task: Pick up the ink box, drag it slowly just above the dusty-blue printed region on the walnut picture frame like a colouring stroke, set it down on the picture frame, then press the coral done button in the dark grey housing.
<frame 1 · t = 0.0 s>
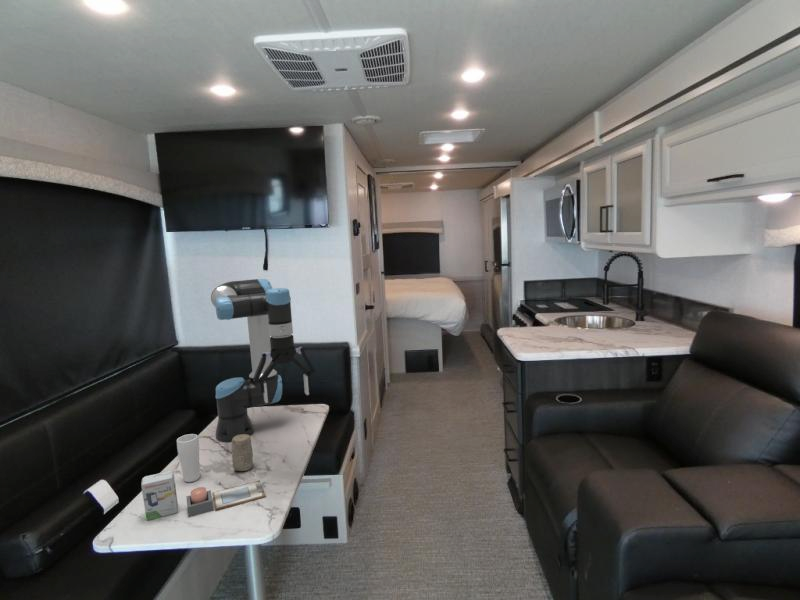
hand: (286, 397, 157), 28 cm above the table, fingers open, 13 cm apart
ink box: (162, 513, 142), on the table
carving: (243, 469, 168), on the table
picture frame: (238, 495, 150), on the table
done button: (199, 497, 144), point 3 cm above the table, slide at 0.0 cm
button housing: (200, 507, 144), on the table
drinking glass: (192, 479, 162), on the table
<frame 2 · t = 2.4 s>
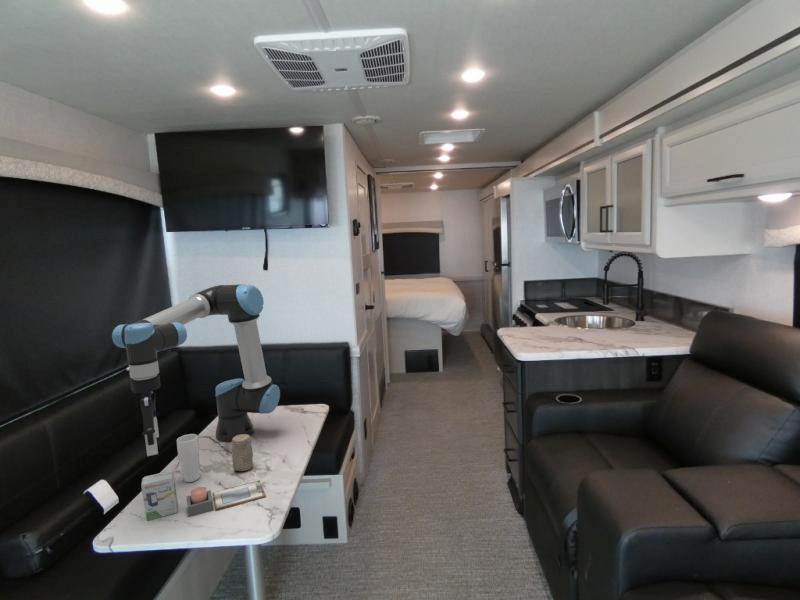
hand: (153, 445, 139), 22 cm above the table, fingers open, 13 cm apart
nothing on the table moved.
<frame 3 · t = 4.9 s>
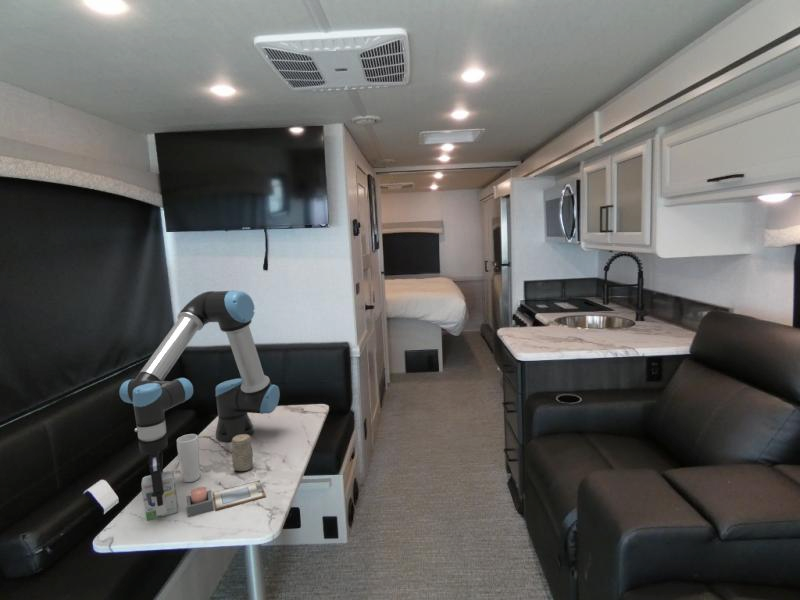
hand: (161, 508, 142), 1 cm above the table, fingers closed on ink box, 5 cm apart
ink box: (162, 513, 142), on the table, touching gripper
everything else where it was.
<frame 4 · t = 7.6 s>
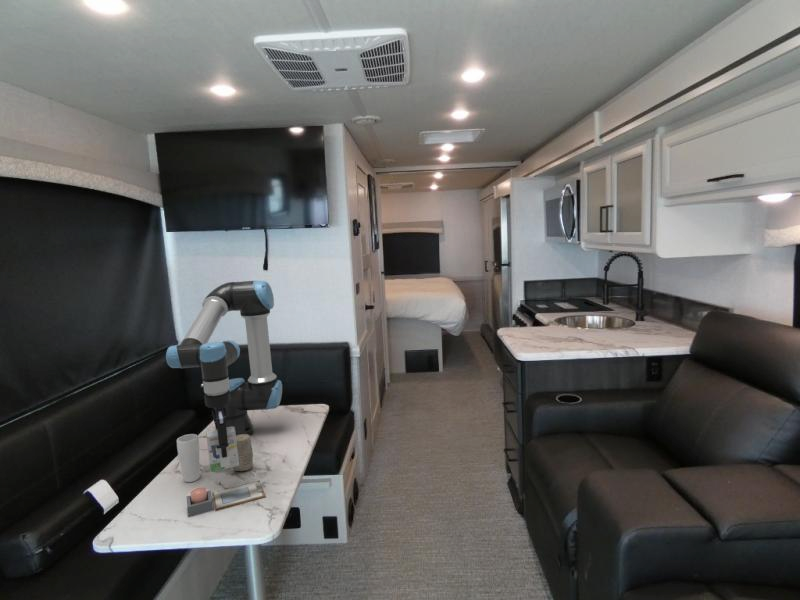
hand: (224, 462, 150), 11 cm above the table, fingers closed on ink box, 5 cm apart
ink box: (224, 466, 150), point 9 cm above the table, touching gripper
everything else where it was.
when the fingers open (3 cm above the table, at t = 9.9 s): ink box stays where it is, resting on picture frame.
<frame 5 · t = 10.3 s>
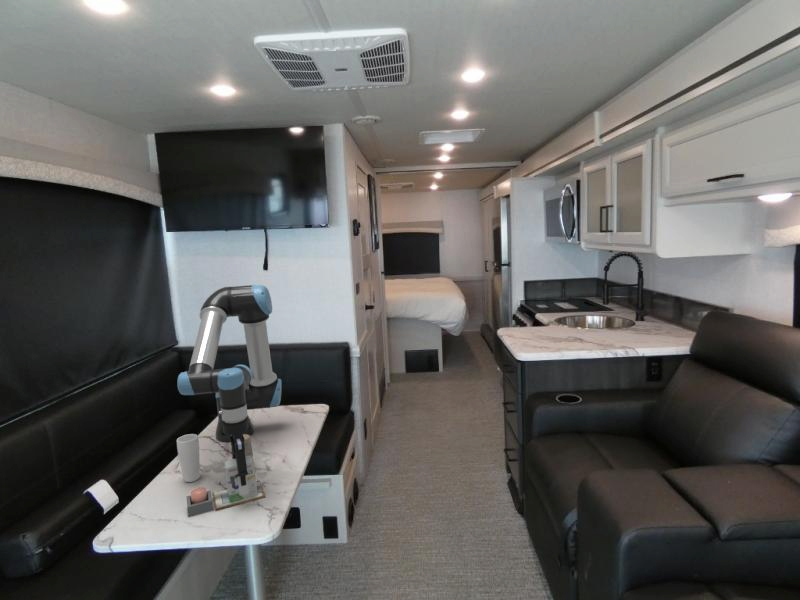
hand: (241, 485, 148), 4 cm above the table, fingers open, 10 cm apart
ink box: (242, 496, 149), resting on picture frame
everything else where it was.
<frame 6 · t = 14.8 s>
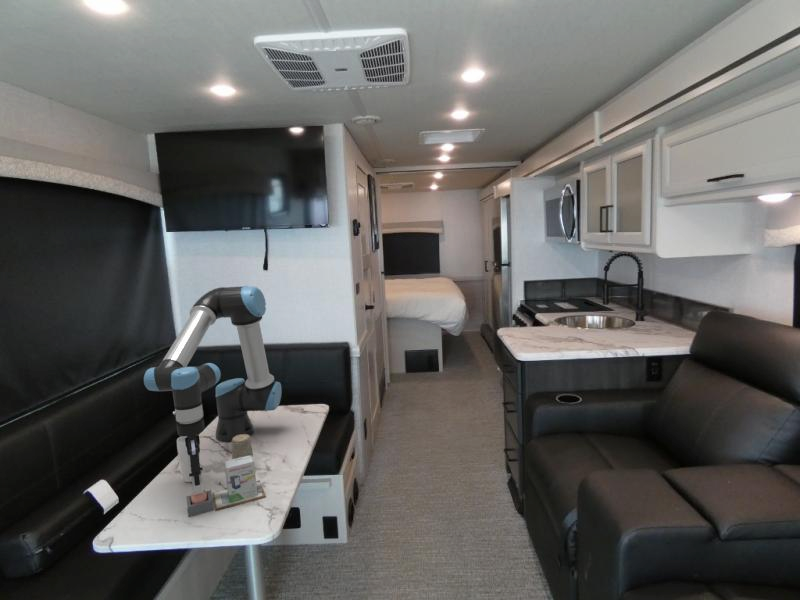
hand: (198, 493, 144), 5 cm above the table, fingers closed
done button: (199, 499, 144), point 3 cm above the table, slide at -0.9 cm, touching gripper
everything else where it was.
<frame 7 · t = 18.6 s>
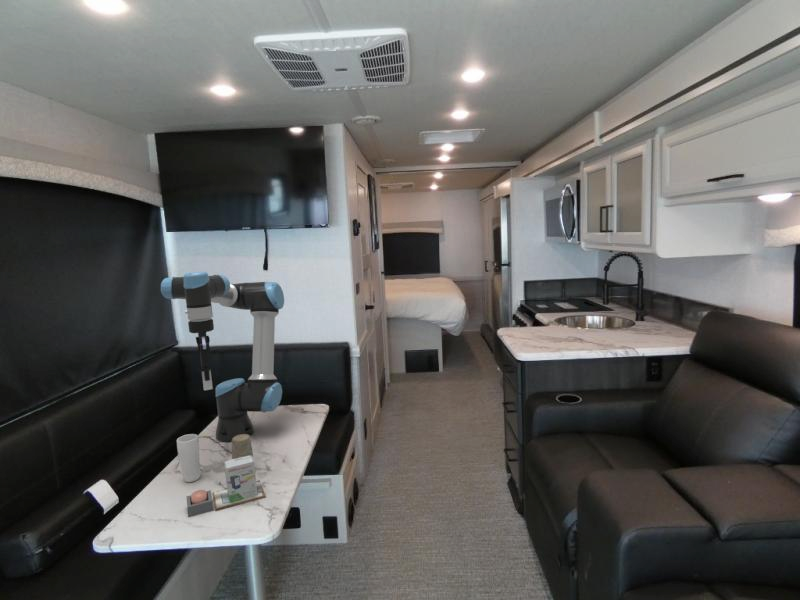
hand: (208, 389, 156), 32 cm above the table, fingers closed
done button: (199, 500, 144), point 3 cm above the table, slide at -1.0 cm
everything else where it was.
at the end: ink box inside the target area on the picture frame (2.3 cm from its centre), point 0.5 cm above the picture frame's base; ink box tilted 0°; done button slide at -1.0 cm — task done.
